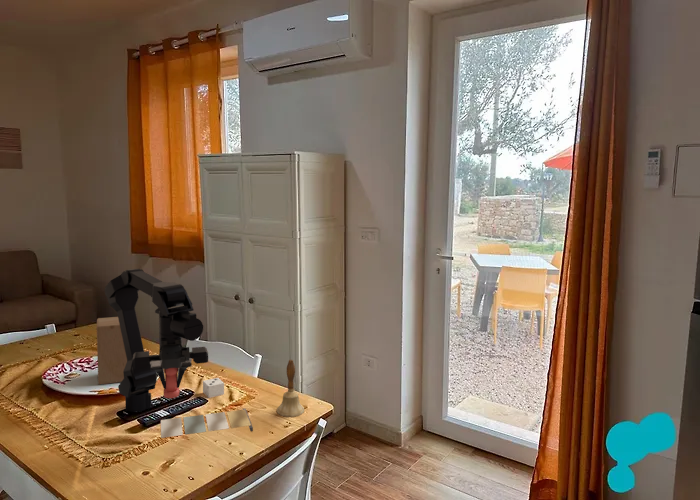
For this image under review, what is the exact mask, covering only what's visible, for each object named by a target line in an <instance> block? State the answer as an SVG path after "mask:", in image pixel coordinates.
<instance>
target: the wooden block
mask: <svg viewBox="0 0 700 500" xmlns="http://www.w3.org/2000/svg"><path fill="white" fill-rule="evenodd" d="M96 352H97V382H98V385H101V384H102V385H107V384H117V383H121V382H122V380H123V379H124V373H123V371H124V368H125V366H126V363H127V357H126V352H125V348H124V343H123V338H122V333H121V329H120V324H119V319H118V316H112V317H98V318H97V319H96Z"/></svg>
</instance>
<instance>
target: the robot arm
mask: <svg viewBox="0 0 700 500" xmlns="http://www.w3.org/2000/svg"><path fill="white" fill-rule="evenodd" d="M104 287H105V288H104V295H105V298H107V303H108V305H109V306H110V307H111V308H112V309H113V310H114V311H115V312H116V315H117V317H118V319H119V324H120V329H121V333H122V338H123V343H124V348H125V352H126V357H127V363H126V366H125V368H124V371H123V373H124V379H123V380H122V382H119V384H118V386H117V387H118V393H119V394H120V395H122V396H124V399H125V403H124V404H125V412H130V413H131V412H132V413H139V412H143V411H145V410H149V409H151V408H152V393H151V392H150V391H152V390H155V388H156V386H157V380H158V377H159V380H160V382H161V384H162V388H163V390H164V389H166V383H165V372H164V369H168V368H178V372H177V388H179V389H180V385H181V382H182V380H183V377H184V375H185V372H186V370H187V369H188V368H190V367H192V366H193V365H192V364H193V363H195V364H196V365H197V364H206V363H209V352H208V348H207V347H206V346H195V347H191V351H190V346H186V347H185V346H183V339H184V340H187V341H192V342H193V341H197V340H198V339H199V338H200V337H201V336H202V334H203V331H204V325H203V322H202V321H201V319H199V318H197V313H195V312H193V311H194V307H193V302H192V300H191V299H190V297H189V295H188V292H187V290H186V288H185V286H184V285H182V284H181V283H176V282H166V281H162V280H160V279H158V278H156V277H154V276H153V275H151V274H148V272H147V273H146V272H145V271H144V270H143V269H142V268H141V269H140V268H132V269H126V270H125V271H124V270H123V271H122V272H121V274H120V275H118V276H116V277H114V278H113V279H111V280H110V281H109V282H108V283H107V284H106V286H104ZM139 291H141V292H143V293H145V294H146V295H148V296H149V297H150V298H151V302H152V303H153V304H154V305H155V306H156V307H157V308H156V309H155V310H154V313H155V314H158V326H159V327H158V329H159V339H158V340H159V349H158V350H159V351H158V352H159V354H150V350H145V348H144V344H143V340H142V335H141V334H142V333H141V330H140V325H139V322H138V317H137V311H136V306H137V303H138V301H139ZM192 362H193V363H192Z"/></svg>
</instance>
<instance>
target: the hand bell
mask: <svg viewBox="0 0 700 500" xmlns="http://www.w3.org/2000/svg"><path fill="white" fill-rule="evenodd" d="M295 374H296V365H295V364H294V360H293V359H288V361H287V365H286V377H287V391H285V392H284V393H283V395H282V401H281V403H280V405H279V406H277V409H276V413H277V414H278V415H280V416H283V417H286V418H294V417H298V416H300V415H302V414H304V412H305V408H304V406H303V405H302V404H301V403H300V400H299V393H298V391H295V387H294V380H295V379H294V378H295V376H296V375H295Z"/></svg>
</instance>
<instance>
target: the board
mask: <svg viewBox="0 0 700 500" xmlns="http://www.w3.org/2000/svg"><path fill="white" fill-rule="evenodd" d="M226 414H227V415H226ZM226 416H227V417H226ZM182 419H183V422H182ZM227 419H228V420H227ZM205 420H206V423H205ZM228 422H229V423H228ZM206 424H207V427H206ZM229 425H230V426H229ZM183 426H184V427H183ZM242 427H243V428H244V427H248V428H249V431H250V432H254V427H253V424H252V422H251V420H250V416H249V413H248V411H247V409H246V408H242V409H237V410H231V411H226V412H225V411H222V412H214V413H206V414H205V418H204V414H199V415H192V416H191V415H190V416H184V417H183V418H182V417H175V418H167V419H166V418H165V419H161V420H160V438H161V439H164V438H170V437H171V438H172V437H177V436H183V435H192V434H199V433H205V432H207V430H208V432H212V431H213V432H214V431H221V430H228V429H229V430H230V428H231V429H236V428H242ZM183 428H184V432H183Z"/></svg>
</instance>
